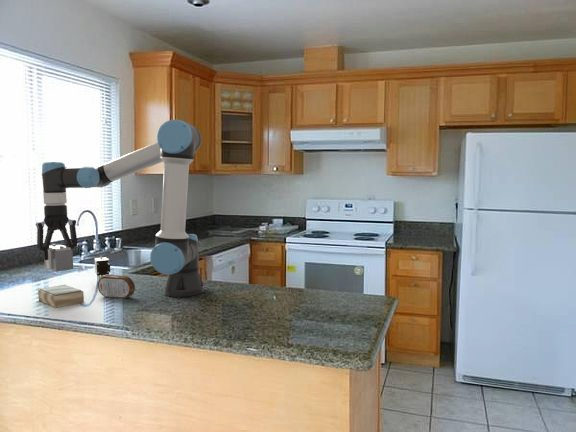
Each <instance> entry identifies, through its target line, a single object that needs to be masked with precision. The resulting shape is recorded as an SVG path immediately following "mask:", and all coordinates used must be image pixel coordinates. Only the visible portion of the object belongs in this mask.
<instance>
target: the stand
mask: <svg viewBox="0 0 576 432" xmlns="http://www.w3.org/2000/svg"><path fill="white" fill-rule="evenodd" d="M37 293H38V301H39V302H42V303H44V304H46V305H48V306H51V307H53V308H55V309H56V308H61V307H66V306H71V305H77V304H81V303H85V297H84V296H85V295H84V294H85V293H84V291H83V290H81V289H79V288H77V287H72V286H70V285H66V284H60V285H55V286H54V285H53V286H49V287H42V288H39V289H38V290H37Z"/></svg>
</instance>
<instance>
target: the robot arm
mask: <svg viewBox="0 0 576 432" xmlns="http://www.w3.org/2000/svg"><path fill="white" fill-rule="evenodd" d="M202 141H203V140H202V134H201V132H200V130H199V129H198V128H197V127H196V126H195V125H193V124H191V123H188V122H186V121H185V120H182V119H169V120H167V121H164V123H162V124H161V125H160V126H159V128H158V129H157V133H156V142H154V143H151V144H150V145H147V146H145V147H142V148H139V149H137V150H134V151H133V152H129V153H127V154H124V155H123V156H119V157H117V158H115V159H113V160H110V161H107V162H105V163H102V164H100V165H98V166H95V167H94V166H86V165H85V166H72V167H67V166H65V163H64V162H63V161H45V162H43V163H42V165H41V176H42V177H41V178H42V187H43V189H42V190H43V193H42V194H43V195H42V197H43V204H44V206H43V209H44V210H43V211H44V212H43V213H44V219H43V220H42V221H38V222H36V223H35V226H36V229H37V230H36V231H37V234H36V249H37V250H39V251H42V254H43V255H42V257H43V260H46V265H47V268H46V270H47V269H48V270H50V269H52V265H51V251H48V250H49V246H51V243H52V242H51V241H52V239H53V234H54V233H55V231H57V230H58V231H59V232H60V233H61V235H62V238H63V241H64V243H65V246H67V247H71V249H72V251H73V249H74V248H76V247H77V246H78V238H77V237H78V236H77V230H76V225H77V220H76V219H69V216H68V206H67V189H70V188H71V189H91V188H104V187H107V186H109V185H110V184H111V183H114V182H116V181H118V180H120V179H122V178H125V177H128V176H130V175H133V174H135V173H138V172H140V171H142V170H143V171H144V170H145V169H148V168H149V167H152V166H156V165H158V164H160V163H163V180H162V181H163V182H162V194H161V195H162V197H161V211H160V212H161V213H160V216H161V217H160V230H159V231H158V232H157V233H156V234H155V240H154V241H155V242H154V247H152V250H151V251H150V254H149V259H150V263H151V266H152V267H153V269H154V270H155V271H157V272H158V273H160V274H162V275H166V276H167V278H166V281H165V285H164V288H163V289H164V290H163V291H164V295H165V296H168V297H174V298H180V297H181V298H182V297H183V298H185V297H193V296H198V295H201V294H203V293H204V292H205V286H204V282H203V279H202V277H201V274H200V267H199V239H198V236H197V234H195V233H187V232H186V223H187V222H186V221H187V207H188V206H187V205H188V203H187V202H188V187H189V171H190V170H189V169H190V164H192V163H193V162H194V161H195V153H196V152H197V151H198V150H199V149H200V148H201V144H202ZM67 224H68V225H69V226H68V227H69V233H68V230H67V227H66V226H67ZM45 226H46V227H47V230H46V235H45V238H44V227H45ZM69 234H70V236H69ZM73 252H74V251H73Z"/></svg>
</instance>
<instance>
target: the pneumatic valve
mask: <svg viewBox="0 0 576 432" xmlns="http://www.w3.org/2000/svg"><path fill="white" fill-rule="evenodd" d="M93 259H94V272H95V274H96V275H97V282H98V281H99V280H100V279H101V278H102V277H104V276H106V275H110V272H111V264H110V263H109V262H110V258H107V257H106V256H105V257H103V256H99V257H94V258H93Z"/></svg>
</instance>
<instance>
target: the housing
mask: <svg viewBox="0 0 576 432" xmlns="http://www.w3.org/2000/svg"><path fill="white" fill-rule="evenodd" d="M72 250H73V249H71V247H67V246H66V245H63V244H56V243H51V245H50V246H49V250H48V251H51V265H52V269H49V270H51V271H54V272H64V271H70V270H74V258H73V257H74V255H73V254H74V253H73V252H74V251H72ZM43 260H44V259H43ZM44 268H45V269H47V265H46V260H44Z"/></svg>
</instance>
